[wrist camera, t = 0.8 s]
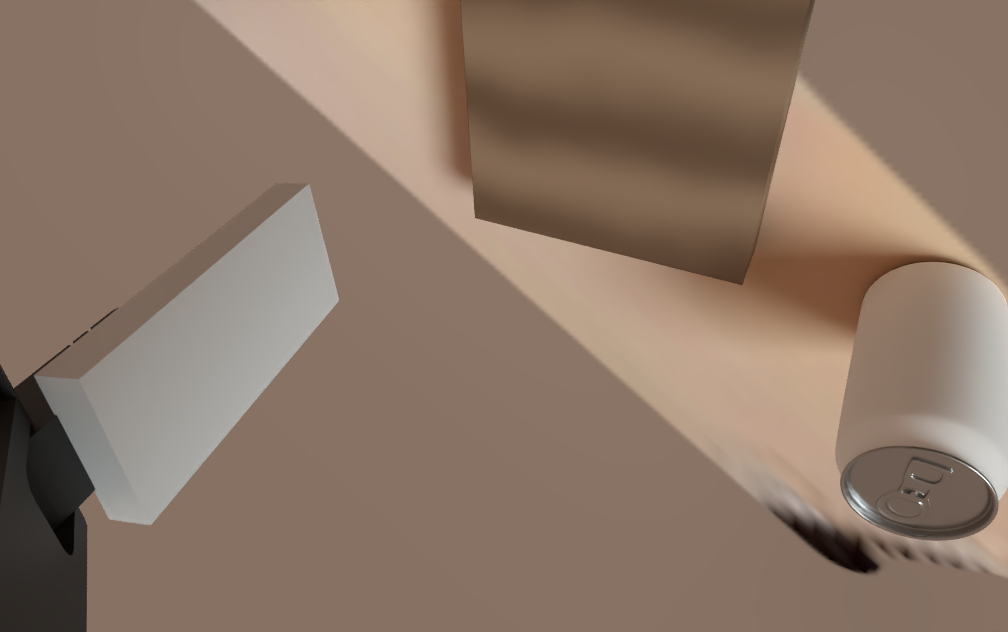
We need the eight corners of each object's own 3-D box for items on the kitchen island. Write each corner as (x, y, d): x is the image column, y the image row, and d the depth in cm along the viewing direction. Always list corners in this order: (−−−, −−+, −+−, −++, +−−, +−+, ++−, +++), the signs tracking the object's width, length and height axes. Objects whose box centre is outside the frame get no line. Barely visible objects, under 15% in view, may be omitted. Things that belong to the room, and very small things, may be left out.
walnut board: (485, -84, 36) (456, -64, 34) (826, -46, 31) (814, -20, 29) (497, 190, 46) (475, 217, 44) (754, 250, 41) (742, 285, 39)
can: (845, 334, 42) (809, 510, 34) (887, 240, 38) (858, 418, 30) (974, 372, 40) (968, 567, 33) (1035, 278, 36) (1045, 479, 28)
